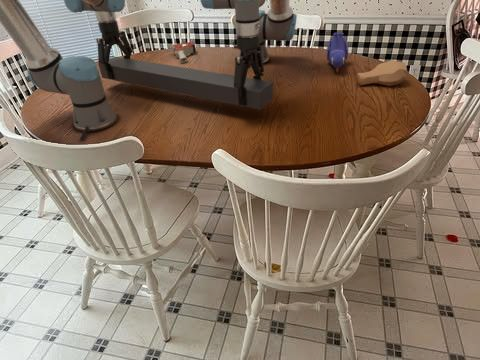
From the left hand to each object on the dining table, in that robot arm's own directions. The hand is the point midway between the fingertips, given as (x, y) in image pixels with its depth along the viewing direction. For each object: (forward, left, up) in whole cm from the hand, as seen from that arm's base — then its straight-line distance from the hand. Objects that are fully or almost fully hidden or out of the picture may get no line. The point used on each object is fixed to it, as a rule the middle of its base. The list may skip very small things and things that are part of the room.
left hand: (120, 74), depth 157 cm
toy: (+13, -98, -6) cm, 99 cm away
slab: (-16, -28, -1) cm, 33 cm away
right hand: (-33, -57, 0) cm, 66 cm away
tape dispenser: (+42, -21, -6) cm, 47 cm away
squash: (-9, -112, -6) cm, 112 cm away
